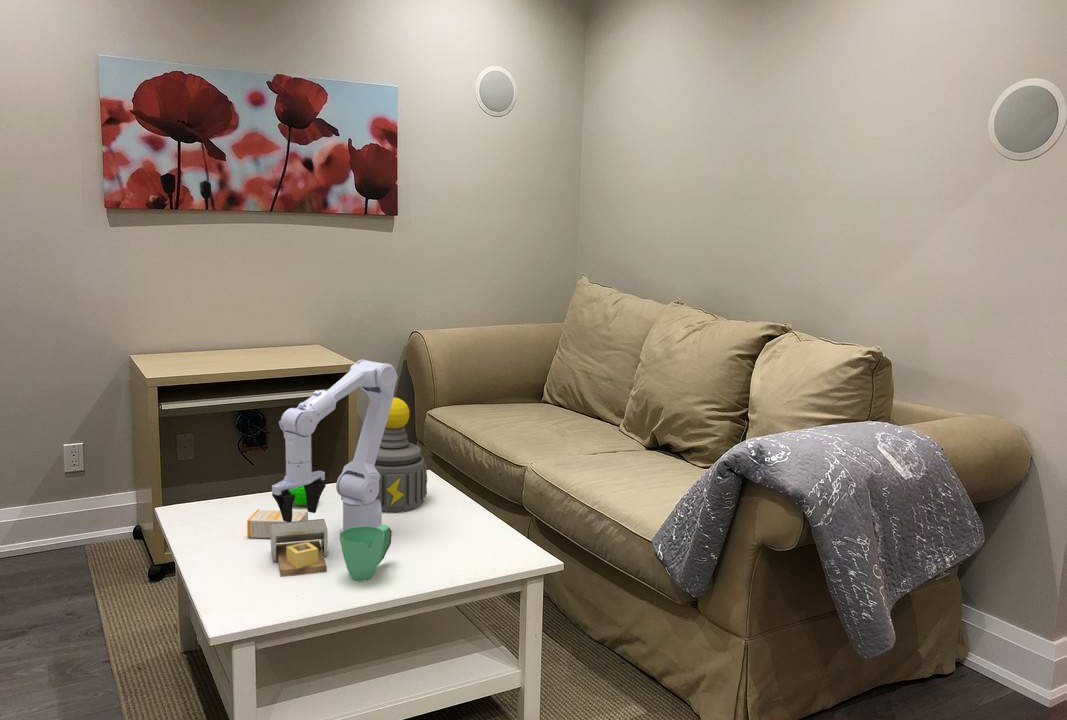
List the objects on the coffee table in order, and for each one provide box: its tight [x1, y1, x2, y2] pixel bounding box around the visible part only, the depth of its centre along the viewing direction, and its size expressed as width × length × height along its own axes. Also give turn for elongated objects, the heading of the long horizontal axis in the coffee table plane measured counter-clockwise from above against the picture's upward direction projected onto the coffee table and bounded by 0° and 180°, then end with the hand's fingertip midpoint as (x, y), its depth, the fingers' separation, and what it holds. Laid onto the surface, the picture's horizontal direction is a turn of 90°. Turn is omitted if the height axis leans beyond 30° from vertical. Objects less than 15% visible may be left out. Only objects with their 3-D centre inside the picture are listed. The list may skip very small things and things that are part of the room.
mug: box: [338, 524, 393, 582], centre depth 199 cm, size 15×10×10 cm
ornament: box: [289, 486, 307, 506], centre depth 243 cm, size 8×8×10 cm
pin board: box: [276, 539, 327, 577], centre depth 205 cm, size 10×16×6 cm, turn 19°
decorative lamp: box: [357, 397, 428, 513], centre depth 246 cm, size 19×19×30 cm
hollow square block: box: [286, 541, 318, 569], centre depth 200 cm, size 5×5×4 cm
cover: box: [270, 518, 329, 562], centre depth 209 cm, size 12×7×7 cm, turn 109°
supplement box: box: [246, 509, 309, 539], centre depth 222 cm, size 8×5×13 cm
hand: (299, 516), depth 206 cm, fingers open, 7 cm apart
